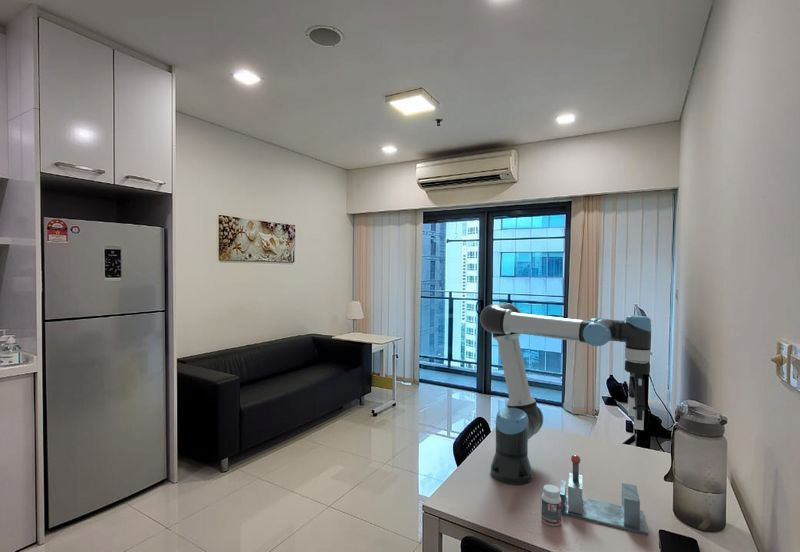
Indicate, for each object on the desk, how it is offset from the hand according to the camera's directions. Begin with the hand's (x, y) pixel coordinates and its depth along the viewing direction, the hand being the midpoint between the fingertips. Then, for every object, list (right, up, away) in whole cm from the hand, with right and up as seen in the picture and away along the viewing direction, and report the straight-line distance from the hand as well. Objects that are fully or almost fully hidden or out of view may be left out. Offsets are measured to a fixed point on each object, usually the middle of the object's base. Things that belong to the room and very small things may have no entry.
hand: (635, 422), depth 138 cm
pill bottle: (-35, -25, -15) cm, 45 cm away
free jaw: (-24, -24, -8) cm, 35 cm away
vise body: (-18, -25, -11) cm, 32 cm away
